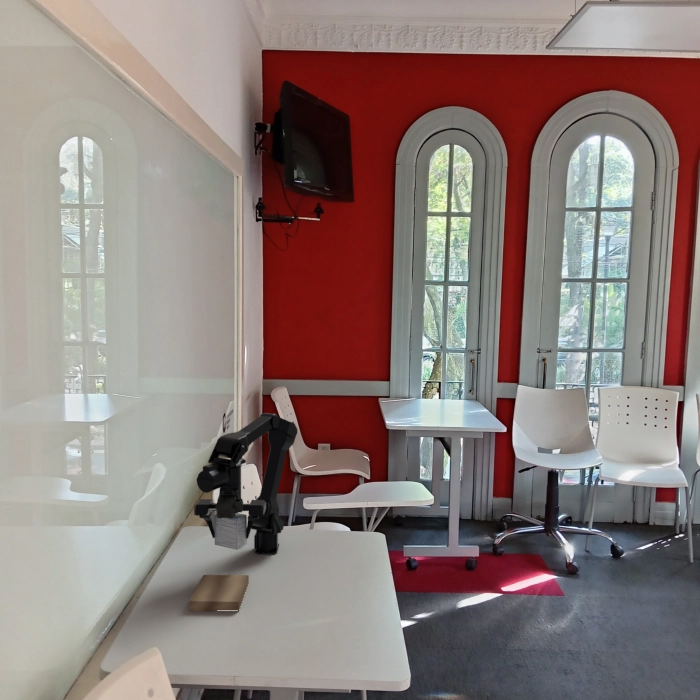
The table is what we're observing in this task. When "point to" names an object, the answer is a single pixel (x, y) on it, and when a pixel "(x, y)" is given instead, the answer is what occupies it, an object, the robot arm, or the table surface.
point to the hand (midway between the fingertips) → (230, 537)
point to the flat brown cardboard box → (219, 593)
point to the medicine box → (231, 531)
